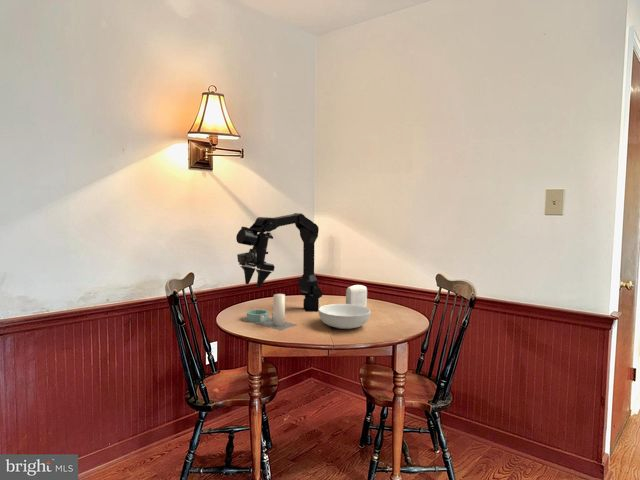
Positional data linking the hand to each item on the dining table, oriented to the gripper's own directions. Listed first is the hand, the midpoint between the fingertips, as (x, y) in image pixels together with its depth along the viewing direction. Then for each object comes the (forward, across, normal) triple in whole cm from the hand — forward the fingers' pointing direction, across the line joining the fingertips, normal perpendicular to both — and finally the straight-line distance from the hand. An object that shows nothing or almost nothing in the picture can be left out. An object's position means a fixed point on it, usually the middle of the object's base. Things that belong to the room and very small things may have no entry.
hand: (252, 285), depth 178 cm
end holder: (+13, -2, +6) cm, 15 cm away
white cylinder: (+13, +10, +9) cm, 19 cm away
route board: (+14, +4, +8) cm, 16 cm away
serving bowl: (+9, +24, +31) cm, 40 cm away
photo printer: (+5, +10, +50) cm, 51 cm away
